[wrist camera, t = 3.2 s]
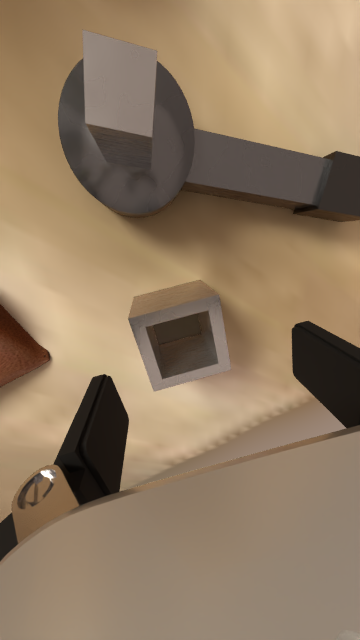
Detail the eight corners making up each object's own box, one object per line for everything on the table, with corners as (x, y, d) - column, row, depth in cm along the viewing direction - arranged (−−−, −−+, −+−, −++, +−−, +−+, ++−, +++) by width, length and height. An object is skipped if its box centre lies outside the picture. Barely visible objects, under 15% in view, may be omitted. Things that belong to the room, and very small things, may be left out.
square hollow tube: (211, 338, 19) (231, 369, 15) (152, 354, 19) (153, 391, 14) (200, 279, 17) (219, 294, 12) (133, 297, 17) (128, 318, 12)
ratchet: (332, 246, 18) (434, 249, 11) (78, 209, 14) (23, 185, 8) (367, 145, 15) (520, 80, 9) (73, 72, 12) (-13, -119, 6)
